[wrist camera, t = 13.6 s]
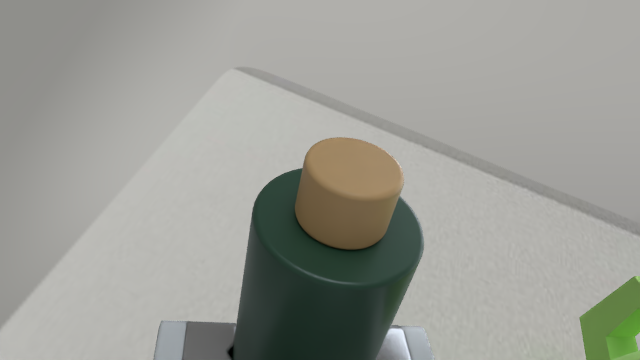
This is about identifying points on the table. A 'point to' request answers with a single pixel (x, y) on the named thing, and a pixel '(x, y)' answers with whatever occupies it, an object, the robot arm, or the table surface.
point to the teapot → (614, 325)
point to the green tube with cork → (327, 257)
